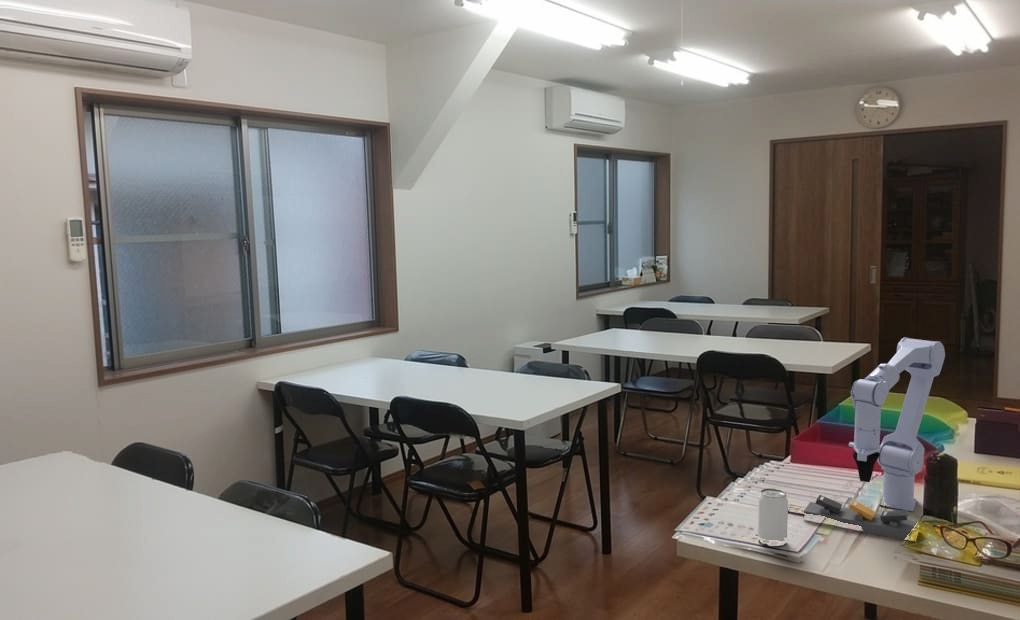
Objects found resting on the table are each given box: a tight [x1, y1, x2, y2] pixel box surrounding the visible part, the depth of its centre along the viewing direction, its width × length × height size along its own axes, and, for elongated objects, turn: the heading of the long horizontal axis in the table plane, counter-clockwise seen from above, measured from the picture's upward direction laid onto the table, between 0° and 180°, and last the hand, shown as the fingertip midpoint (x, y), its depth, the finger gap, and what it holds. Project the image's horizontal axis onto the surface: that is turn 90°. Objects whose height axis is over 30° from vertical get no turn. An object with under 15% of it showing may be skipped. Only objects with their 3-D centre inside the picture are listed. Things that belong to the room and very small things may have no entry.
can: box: [757, 488, 789, 540], centre depth 175 cm, size 6×6×12 cm
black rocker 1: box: [814, 494, 843, 513], centre depth 187 cm, size 4×6×2 cm, turn 56°
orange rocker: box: [848, 499, 876, 521], centre depth 183 cm, size 4×6×2 cm, turn 56°
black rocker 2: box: [880, 510, 909, 522], centre depth 179 cm, size 4×6×2 cm, turn 56°
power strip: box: [803, 501, 918, 541], centre depth 185 cm, size 7×30×4 cm, turn 56°
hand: (865, 481), depth 186 cm, fingers closed
